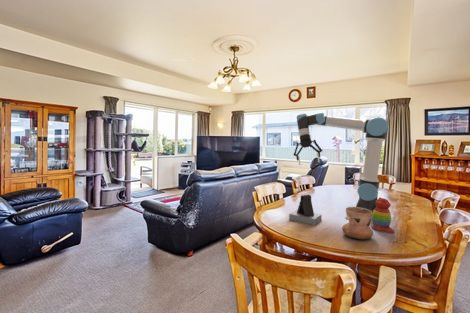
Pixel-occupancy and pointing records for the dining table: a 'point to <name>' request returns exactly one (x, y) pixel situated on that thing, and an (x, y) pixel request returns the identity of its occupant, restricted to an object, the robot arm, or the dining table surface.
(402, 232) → the dining table surface
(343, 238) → the dining table surface
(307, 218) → the plinth
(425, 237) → the dining table surface
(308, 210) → the black tapered block
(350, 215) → the ceramic jug
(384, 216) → the stacking bear
